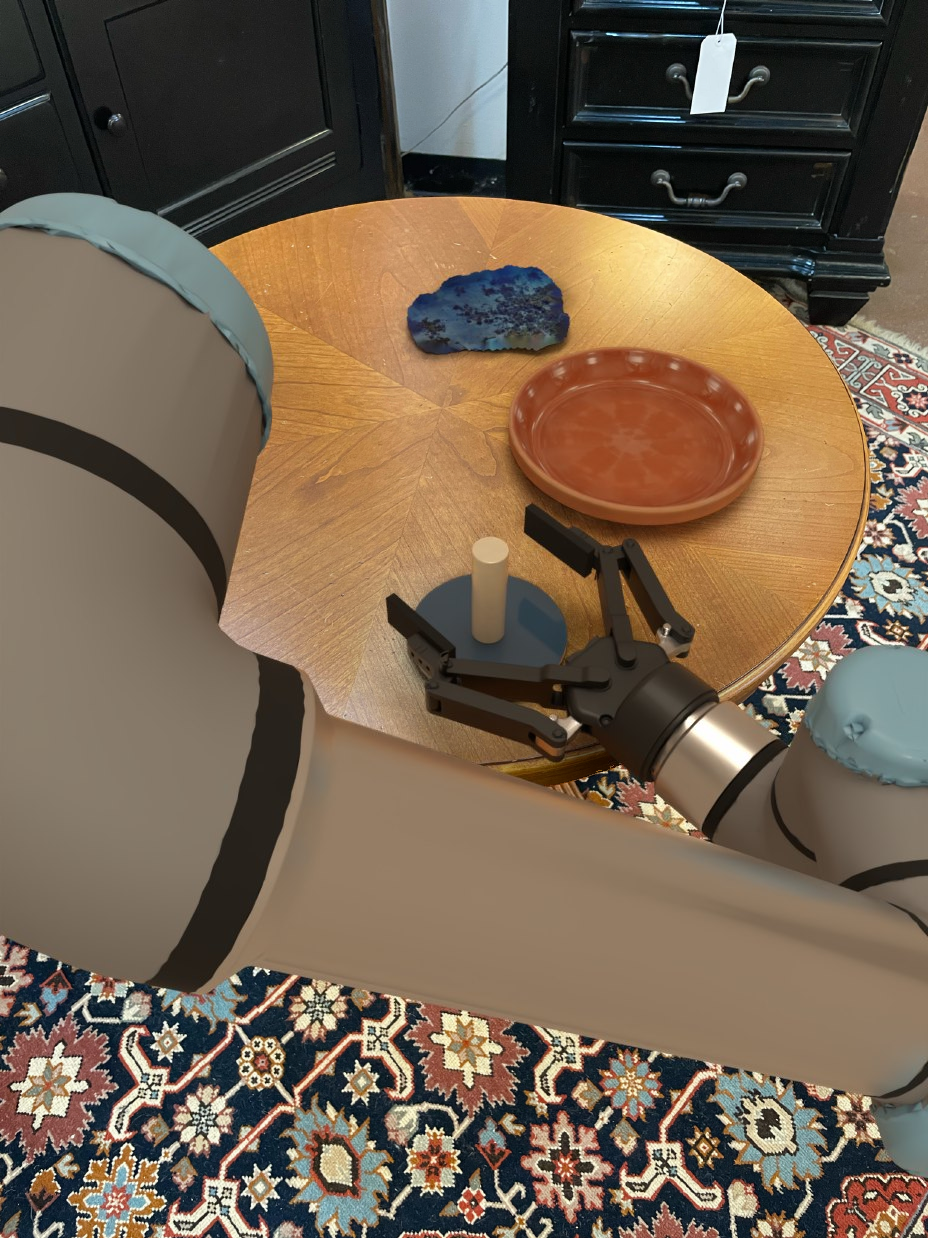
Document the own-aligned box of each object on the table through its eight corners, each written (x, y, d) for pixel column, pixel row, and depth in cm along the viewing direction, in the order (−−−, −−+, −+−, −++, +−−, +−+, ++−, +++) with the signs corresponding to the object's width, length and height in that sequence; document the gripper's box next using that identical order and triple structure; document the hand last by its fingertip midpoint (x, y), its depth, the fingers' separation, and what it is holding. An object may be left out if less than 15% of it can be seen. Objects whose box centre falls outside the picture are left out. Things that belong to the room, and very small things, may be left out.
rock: (573, 352, 98) (575, 335, 97) (408, 358, 98) (406, 341, 96) (558, 277, 108) (559, 261, 106) (407, 283, 108) (406, 267, 106)
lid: (425, 718, 70) (420, 630, 62) (397, 595, 77) (389, 502, 69) (585, 689, 71) (600, 600, 63) (542, 571, 79) (551, 478, 71)
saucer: (802, 446, 89) (813, 414, 86) (661, 580, 78) (669, 549, 75) (605, 349, 99) (609, 317, 96) (456, 457, 88) (456, 425, 85)
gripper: (543, 893, 58) (332, 682, 68) (788, 671, 69) (574, 518, 79) (552, 835, 52) (320, 614, 62) (818, 603, 63) (583, 447, 73)
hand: (461, 560), depth 71 cm, fingers open, 13 cm apart
